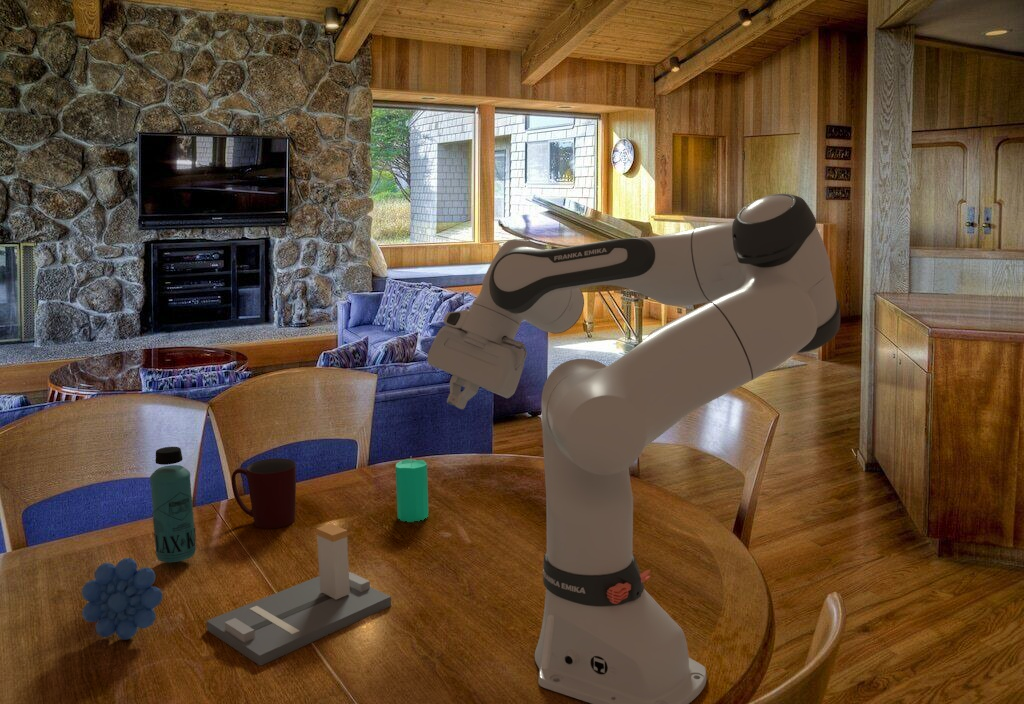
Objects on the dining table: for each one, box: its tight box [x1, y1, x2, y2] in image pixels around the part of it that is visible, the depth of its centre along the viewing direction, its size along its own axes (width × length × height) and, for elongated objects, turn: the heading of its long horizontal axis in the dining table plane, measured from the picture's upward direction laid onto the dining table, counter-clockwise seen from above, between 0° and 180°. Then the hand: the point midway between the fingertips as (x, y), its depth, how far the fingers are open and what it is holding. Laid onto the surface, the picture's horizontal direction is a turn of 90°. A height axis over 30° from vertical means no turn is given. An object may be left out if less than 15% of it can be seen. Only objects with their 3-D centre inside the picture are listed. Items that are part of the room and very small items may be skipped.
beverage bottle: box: [149, 446, 197, 563], centre depth 142 cm, size 6×7×20 cm
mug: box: [231, 457, 297, 530], centre depth 160 cm, size 12×9×11 cm
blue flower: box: [81, 557, 164, 641], centre depth 119 cm, size 12×7×12 cm, turn 86°
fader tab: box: [315, 523, 350, 600], centre depth 127 cm, size 4×3×10 cm, turn 48°
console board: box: [206, 571, 392, 667], centre depth 124 cm, size 14×22×3 cm, turn 138°
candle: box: [395, 457, 430, 523], centre depth 162 cm, size 6×6×12 cm
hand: (454, 406), depth 142 cm, fingers closed
